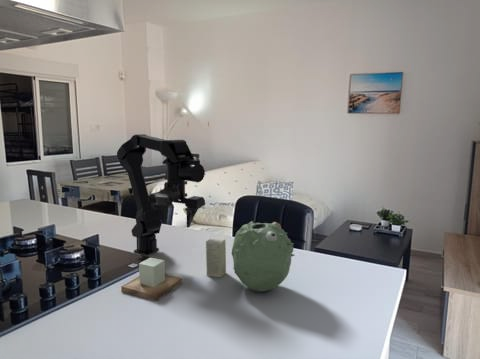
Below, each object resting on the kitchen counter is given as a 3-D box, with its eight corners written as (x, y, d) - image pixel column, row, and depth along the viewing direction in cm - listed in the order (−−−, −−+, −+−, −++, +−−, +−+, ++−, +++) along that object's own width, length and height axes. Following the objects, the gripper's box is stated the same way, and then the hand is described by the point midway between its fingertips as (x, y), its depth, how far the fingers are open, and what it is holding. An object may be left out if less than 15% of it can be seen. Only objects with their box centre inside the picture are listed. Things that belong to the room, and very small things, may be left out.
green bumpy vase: (245, 271, 115) (246, 210, 112) (301, 286, 105) (304, 220, 102) (217, 291, 102) (218, 222, 98) (278, 309, 92) (281, 234, 89)
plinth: (121, 291, 100) (121, 286, 100) (149, 275, 111) (149, 270, 111) (156, 300, 95) (156, 295, 95) (181, 282, 106) (181, 277, 106)
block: (139, 283, 102) (139, 263, 101) (150, 276, 106) (150, 257, 105) (154, 287, 100) (153, 266, 99) (164, 280, 104) (164, 260, 103)
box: (226, 272, 114) (226, 239, 112) (221, 278, 110) (221, 243, 108) (211, 270, 116) (211, 237, 114) (205, 275, 112) (205, 241, 110)
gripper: (136, 179, 113) (137, 227, 115) (186, 185, 105) (187, 236, 108) (158, 175, 123) (159, 219, 125) (205, 179, 115) (205, 226, 118)
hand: (176, 225), depth 119 cm, fingers open, 9 cm apart
